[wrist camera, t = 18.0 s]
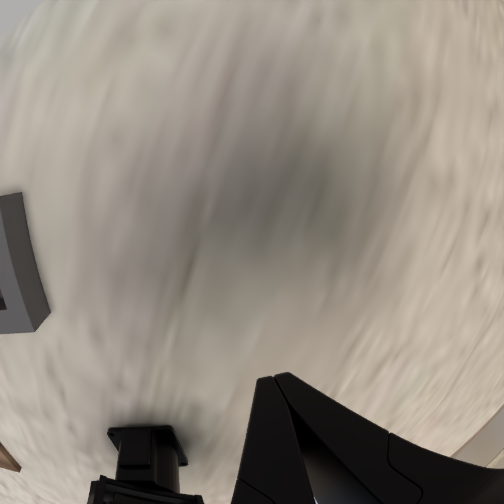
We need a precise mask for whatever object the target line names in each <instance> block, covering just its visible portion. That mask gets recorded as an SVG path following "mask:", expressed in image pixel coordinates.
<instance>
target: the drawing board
mask: <svg viewBox="0 0 504 504" xmlns="http://www.w3.org/2000/svg"><path fill="white" fill-rule="evenodd" d="M0 467H1V468H5V469H8V470H12V471H16V472H19V473H20V470H21V467H20V465H19V464H18V463H17V462H16V461H15V460H14V459H13V457H12V456H11V455H10V454H9V453H8V452H7V450H6V449H5V448H4V447H3V445H2V444H1V443H0Z"/></svg>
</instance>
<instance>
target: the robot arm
mask: <svg viewBox="0 0 504 504" xmlns="http://www.w3.org/2000/svg"><path fill="white" fill-rule="evenodd" d="M107 435H108V436H109V438H110V440H111V441H112V443H113V444H114V446H115V447H116V449H117V450H118V452H119V454H118V461H117V469H116V477H115V480H114V479H110V478H107V477H106V476H103V475H100V479H99V480H97V481H91V486H90V492H89V498H88V502H87V504H204V502H203V498H202V496H201V495H187V494H180V485H179V467H181V466H187V465H188V460H187V458H186V456H185V453H184V451H183V449H182V447H181V445H180V443H179V440H178V438H177V436H176V434H175V431H174V429H173V428H172V427H171V426H159V427H143V428H112V429H108V432H107ZM237 479H238V480H236V484H235V489H234V493H233V497H232V501H231V504H316V503H315V499H316V501H317V503H318V504H504V469H494V468H486V467H481V466H478V465H474V464H470V463H467V462H463V461H460V460H457V459H454V458H450V457H447V456H444V455H441V454H438V453H436V452H433V451H430V450H428V449H425V448H422V447H420V446H418V445H416V444H413V443H411V442H409V441H407V440H405V439H403V438H401V437H399V436H397V435H395V434H393V433H389V431H387V430H386V429H384V428H382V427H380V426H378V425H376V424H375V423H373V422H371V421H369V420H367V419H366V418H364V417H362V416H360V415H359V414H357V413H355V412H353V411H352V410H350V409H348V408H346V407H345V406H343V405H341V404H340V403H338V402H336V401H335V400H333V399H331V398H330V397H328V396H326V395H325V394H323V393H322V392H320V391H318V390H317V389H315V388H313V387H312V386H310V385H309V384H307V383H306V382H304V381H302V380H301V379H299V378H298V377H296V376H295V375H293V374H291V373H290V372H285V373H281V374H276V375H274V377H273V376H267V377H262V378H258V379H257V382H256V387H255V392H254V397H253V403H252V408H251V413H250V418H249V423H248V428H247V433H246V438H245V443H244V448H243V453H242V457H241V462H240V467H239V472H238V476H237ZM313 495H314V496H313ZM314 497H315V499H314Z"/></svg>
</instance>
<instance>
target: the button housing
mask: <svg viewBox="0 0 504 504" xmlns="http://www.w3.org/2000/svg"><path fill="white" fill-rule="evenodd" d="M0 289H1V292H0V334H12V333H29V332H35V331H36V330H37V329H38V328H39V326H40V325H41V324H42V323H43V321H44V320H45V319H46V318H47V317H48V315H49V314H50V313H51V312H50V309H49V306H48V303H47V300H46V297H45V294H44V291H43V288H42V284H41V281H40V278H39V274H38V270H37V267H36V263H35V259H34V255H33V251H32V247H31V242H30V238H29V233H28V228H27V223H26V217H25V211H24V205H23V199H22V192H20V193H15V194H10V195H5V196H0Z"/></svg>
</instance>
